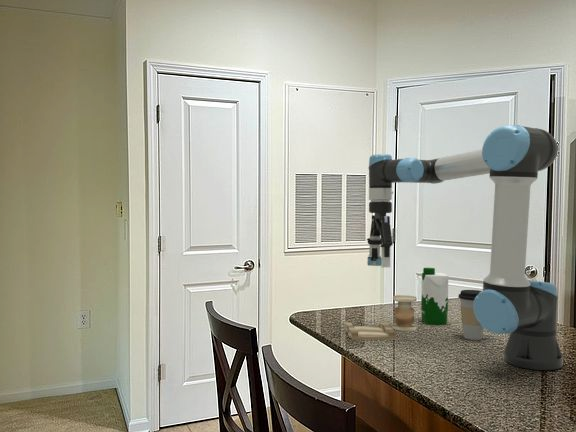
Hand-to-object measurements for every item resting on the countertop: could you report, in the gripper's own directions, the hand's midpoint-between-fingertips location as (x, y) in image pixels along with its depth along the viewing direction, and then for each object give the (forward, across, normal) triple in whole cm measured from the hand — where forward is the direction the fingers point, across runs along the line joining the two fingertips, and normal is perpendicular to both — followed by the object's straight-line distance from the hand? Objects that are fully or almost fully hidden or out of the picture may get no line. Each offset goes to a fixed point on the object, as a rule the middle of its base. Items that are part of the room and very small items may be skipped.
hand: (380, 265), depth 184 cm
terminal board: (+23, -2, +4) cm, 23 cm away
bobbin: (+23, +6, -10) cm, 26 cm away
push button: (+1, +5, 0) cm, 5 cm away
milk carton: (+23, +12, -23) cm, 35 cm away
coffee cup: (+23, -8, -28) cm, 38 cm away
